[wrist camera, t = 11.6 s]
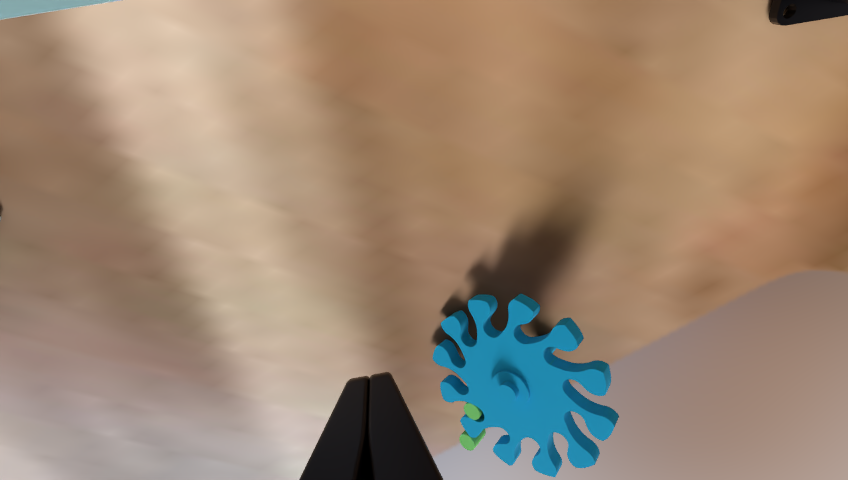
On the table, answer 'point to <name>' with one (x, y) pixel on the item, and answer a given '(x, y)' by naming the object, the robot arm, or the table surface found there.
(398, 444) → the robot arm
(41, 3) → the jig
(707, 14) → the table surface
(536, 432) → the gear
